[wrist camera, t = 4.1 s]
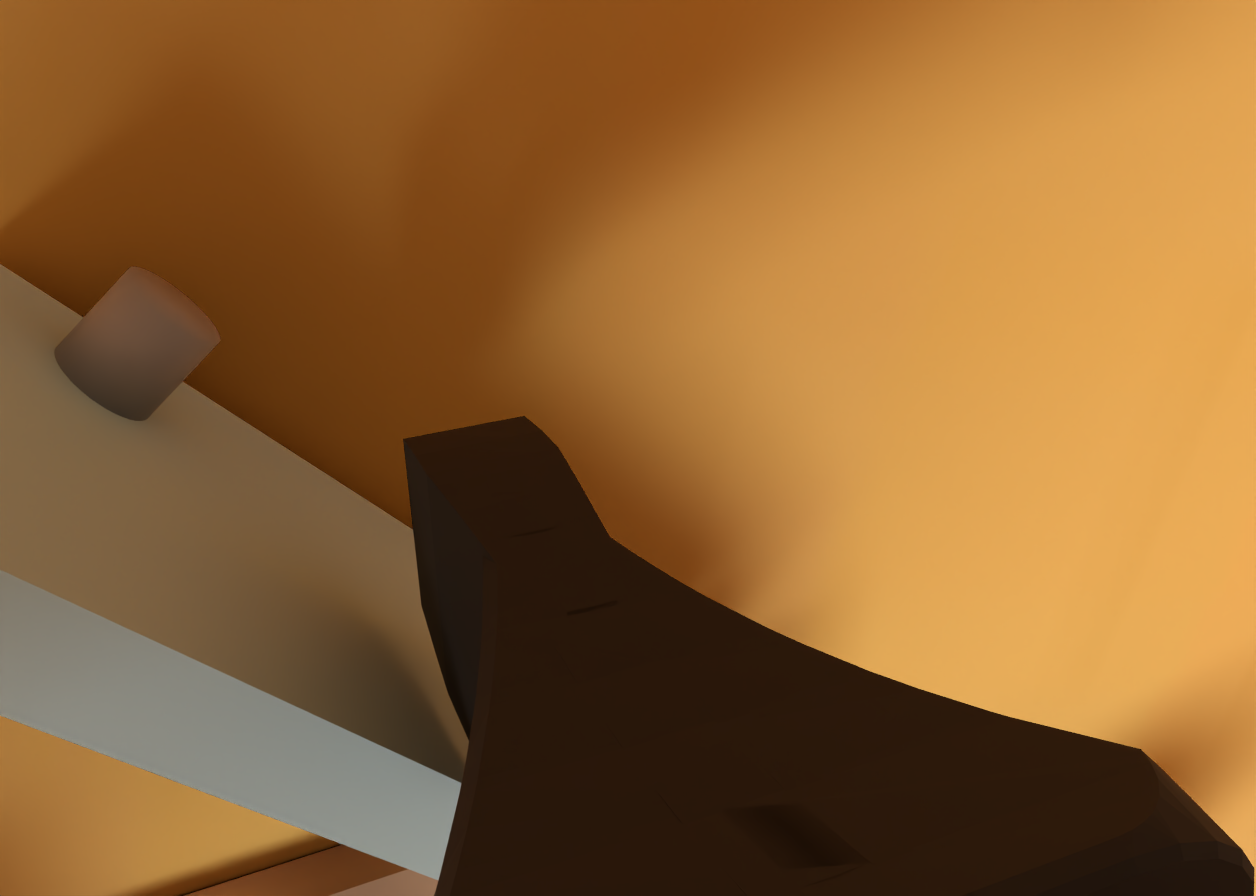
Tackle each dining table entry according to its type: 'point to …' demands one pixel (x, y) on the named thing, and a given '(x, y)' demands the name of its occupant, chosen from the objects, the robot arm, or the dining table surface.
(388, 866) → the cabinet
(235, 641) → the door
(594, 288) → the dining table surface
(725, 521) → the dining table surface
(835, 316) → the dining table surface
